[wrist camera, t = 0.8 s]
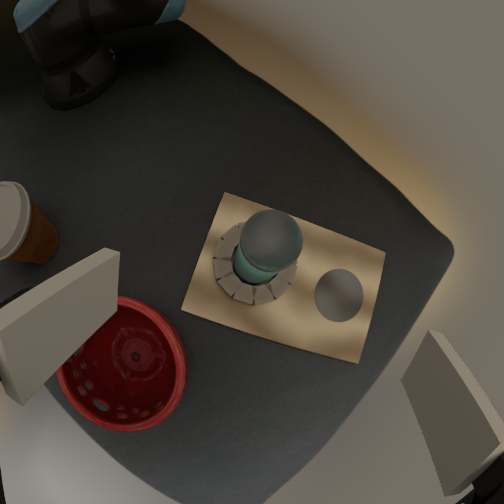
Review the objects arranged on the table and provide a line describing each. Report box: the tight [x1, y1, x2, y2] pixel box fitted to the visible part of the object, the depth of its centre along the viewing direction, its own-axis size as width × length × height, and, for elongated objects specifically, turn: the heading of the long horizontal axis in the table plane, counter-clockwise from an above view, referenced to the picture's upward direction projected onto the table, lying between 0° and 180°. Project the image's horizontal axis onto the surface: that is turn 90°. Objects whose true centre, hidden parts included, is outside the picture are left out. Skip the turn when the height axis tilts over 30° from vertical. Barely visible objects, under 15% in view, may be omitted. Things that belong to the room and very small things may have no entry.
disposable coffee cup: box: [0, 181, 59, 264], centre depth 30 cm, size 10×10×12 cm
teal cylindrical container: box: [232, 209, 303, 286], centre depth 31 cm, size 5×5×13 cm
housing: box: [181, 192, 385, 364], centre depth 37 cm, size 16×24×4 cm, turn 72°
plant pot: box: [56, 295, 187, 432], centre depth 29 cm, size 13×13×12 cm
